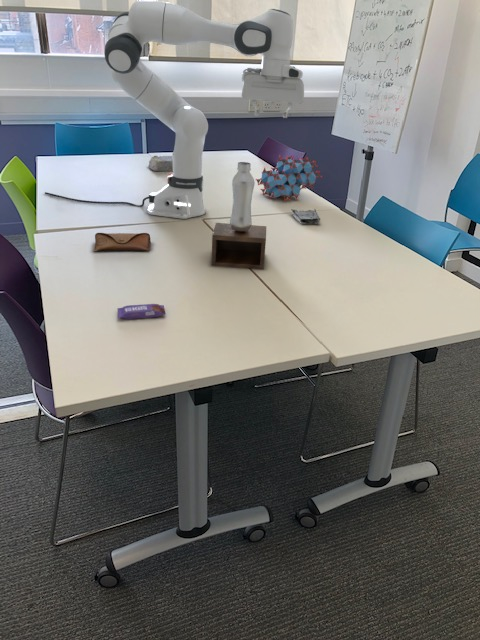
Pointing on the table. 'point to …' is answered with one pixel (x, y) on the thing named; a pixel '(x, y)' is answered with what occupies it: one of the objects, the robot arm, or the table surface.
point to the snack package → (141, 311)
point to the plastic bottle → (242, 198)
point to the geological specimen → (161, 163)
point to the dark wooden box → (238, 247)
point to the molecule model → (288, 177)
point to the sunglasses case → (122, 242)
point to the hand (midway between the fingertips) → (270, 116)
